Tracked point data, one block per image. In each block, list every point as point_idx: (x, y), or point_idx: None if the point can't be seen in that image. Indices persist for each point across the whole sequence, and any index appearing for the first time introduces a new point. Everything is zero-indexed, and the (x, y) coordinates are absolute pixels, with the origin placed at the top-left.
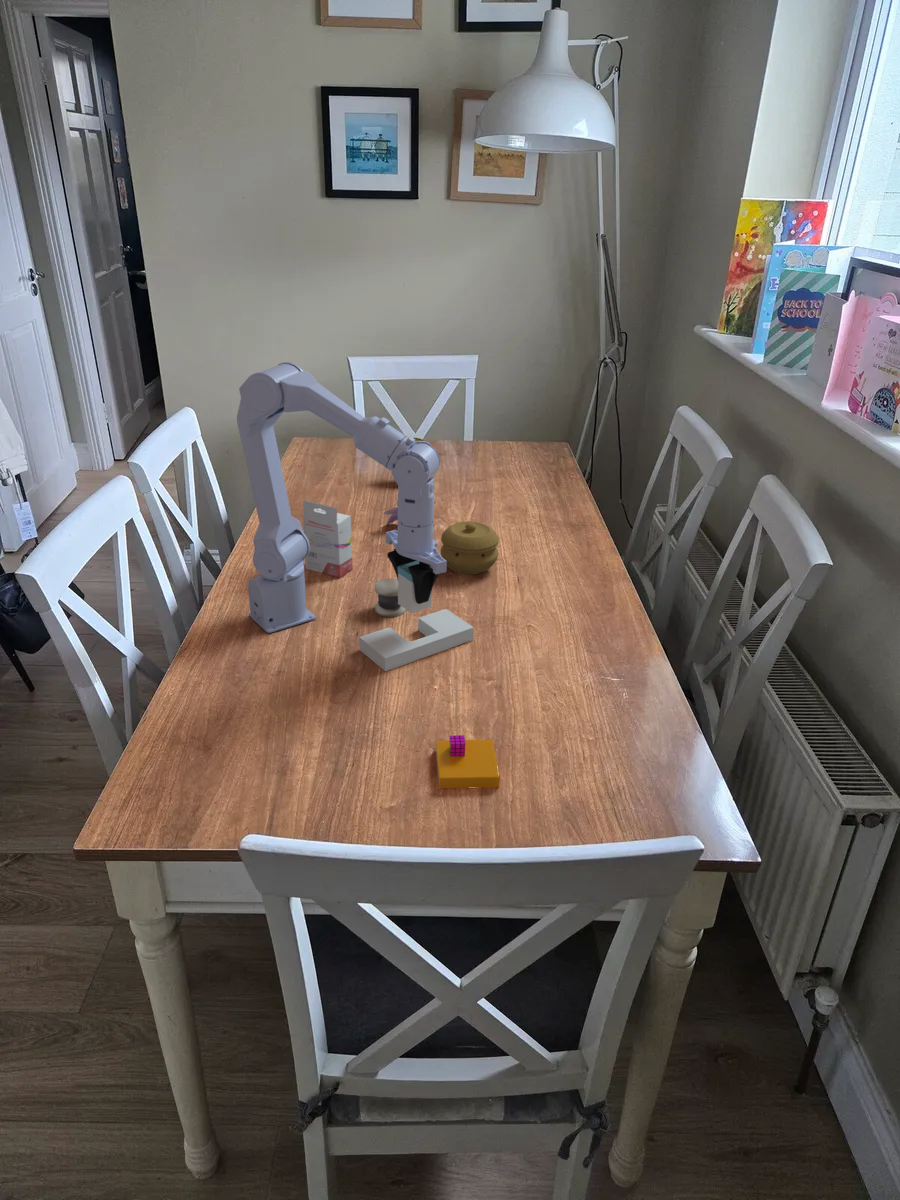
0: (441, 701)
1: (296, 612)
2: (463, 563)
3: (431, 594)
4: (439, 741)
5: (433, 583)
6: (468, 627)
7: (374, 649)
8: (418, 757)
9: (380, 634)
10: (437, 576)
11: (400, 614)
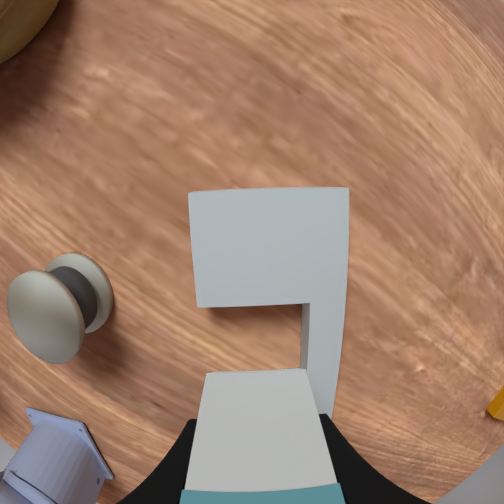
0: (448, 374)
1: (85, 461)
2: (22, 29)
3: (315, 406)
4: (497, 414)
5: (372, 469)
6: (340, 203)
7: None
8: (476, 426)
9: None
10: (403, 490)
11: (110, 287)
